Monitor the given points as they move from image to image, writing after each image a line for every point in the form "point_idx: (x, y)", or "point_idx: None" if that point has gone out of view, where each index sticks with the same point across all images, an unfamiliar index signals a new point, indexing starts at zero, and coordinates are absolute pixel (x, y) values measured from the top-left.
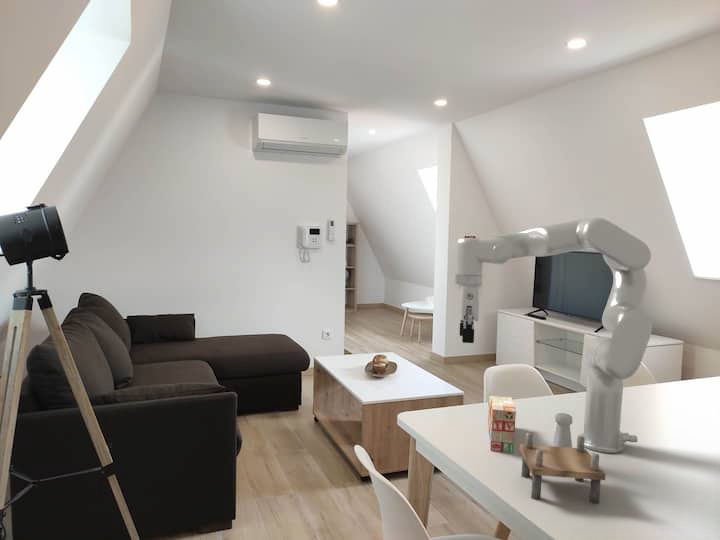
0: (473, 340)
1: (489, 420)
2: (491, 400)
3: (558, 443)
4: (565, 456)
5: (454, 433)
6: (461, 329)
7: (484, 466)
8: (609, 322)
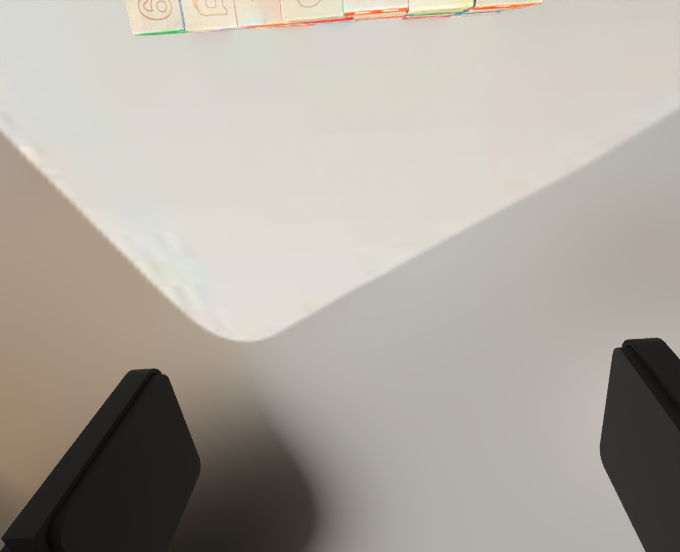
0: (675, 360)
1: (298, 25)
2: (342, 15)
3: None
4: None
5: (346, 168)
6: (166, 532)
7: (654, 38)
8: None
